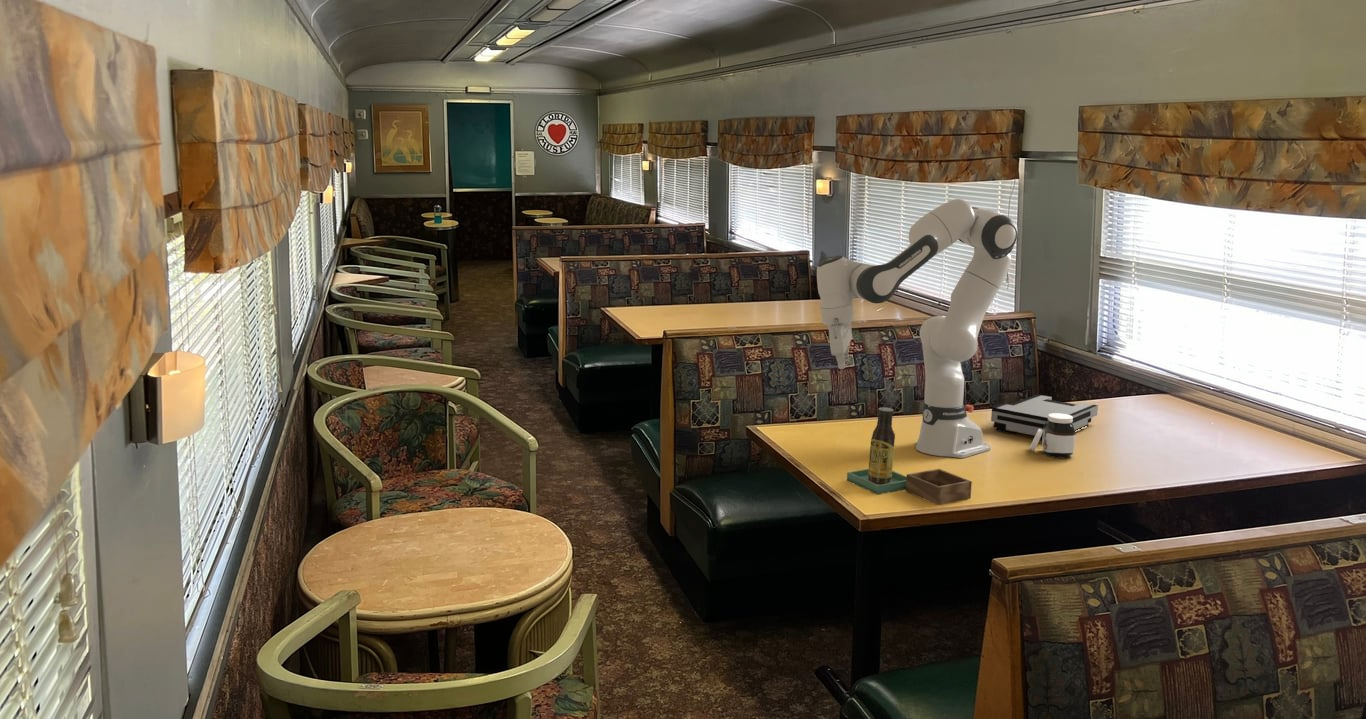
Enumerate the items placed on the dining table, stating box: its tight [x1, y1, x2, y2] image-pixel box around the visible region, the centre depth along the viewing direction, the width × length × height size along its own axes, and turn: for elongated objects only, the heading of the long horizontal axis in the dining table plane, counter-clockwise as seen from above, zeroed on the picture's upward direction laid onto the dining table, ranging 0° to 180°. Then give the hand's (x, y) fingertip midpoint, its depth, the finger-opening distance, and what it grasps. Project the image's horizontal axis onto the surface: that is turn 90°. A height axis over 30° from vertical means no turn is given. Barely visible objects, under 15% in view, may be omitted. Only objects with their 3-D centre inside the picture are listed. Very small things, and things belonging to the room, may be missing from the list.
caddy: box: [905, 468, 973, 506], centre depth 277 cm, size 11×12×4 cm
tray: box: [846, 468, 907, 495], centre depth 285 cm, size 12×13×2 cm
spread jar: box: [1029, 413, 1076, 458], centre depth 315 cm, size 12×11×12 cm
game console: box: [990, 394, 1099, 441], centre depth 343 cm, size 21×32×8 cm, turn 137°
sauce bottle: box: [867, 407, 896, 484], centre depth 283 cm, size 6×6×20 cm
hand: (843, 364), depth 298 cm, fingers open, 8 cm apart
